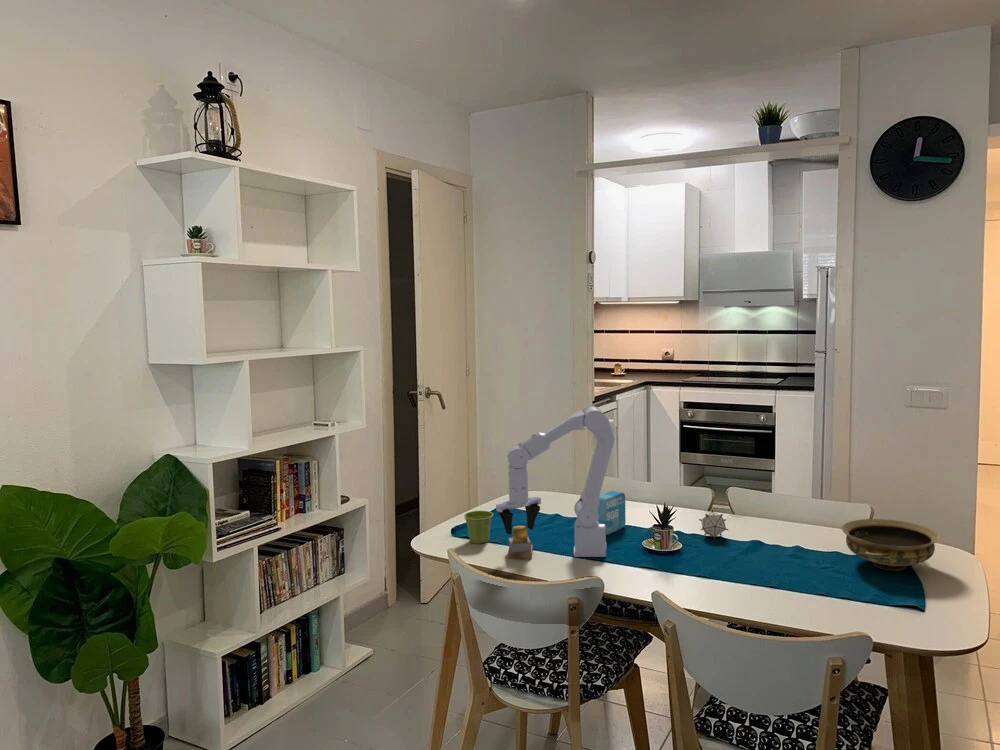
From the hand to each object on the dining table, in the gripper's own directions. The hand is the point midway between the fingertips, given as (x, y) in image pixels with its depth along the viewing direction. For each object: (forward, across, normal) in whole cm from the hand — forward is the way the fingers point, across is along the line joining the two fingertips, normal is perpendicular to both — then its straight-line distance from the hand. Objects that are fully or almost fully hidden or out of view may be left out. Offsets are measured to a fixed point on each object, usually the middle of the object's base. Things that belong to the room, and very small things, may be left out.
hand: (519, 531), depth 227 cm
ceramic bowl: (+8, +79, -67) cm, 104 cm away
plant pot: (+8, -4, +19) cm, 21 cm away
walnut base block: (+8, 0, 0) cm, 8 cm away
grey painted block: (+6, 0, 0) cm, 6 cm away
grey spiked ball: (+8, +59, -21) cm, 63 cm away
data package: (+8, +37, +3) cm, 38 cm away
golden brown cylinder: (+3, 0, 0) cm, 3 cm away
